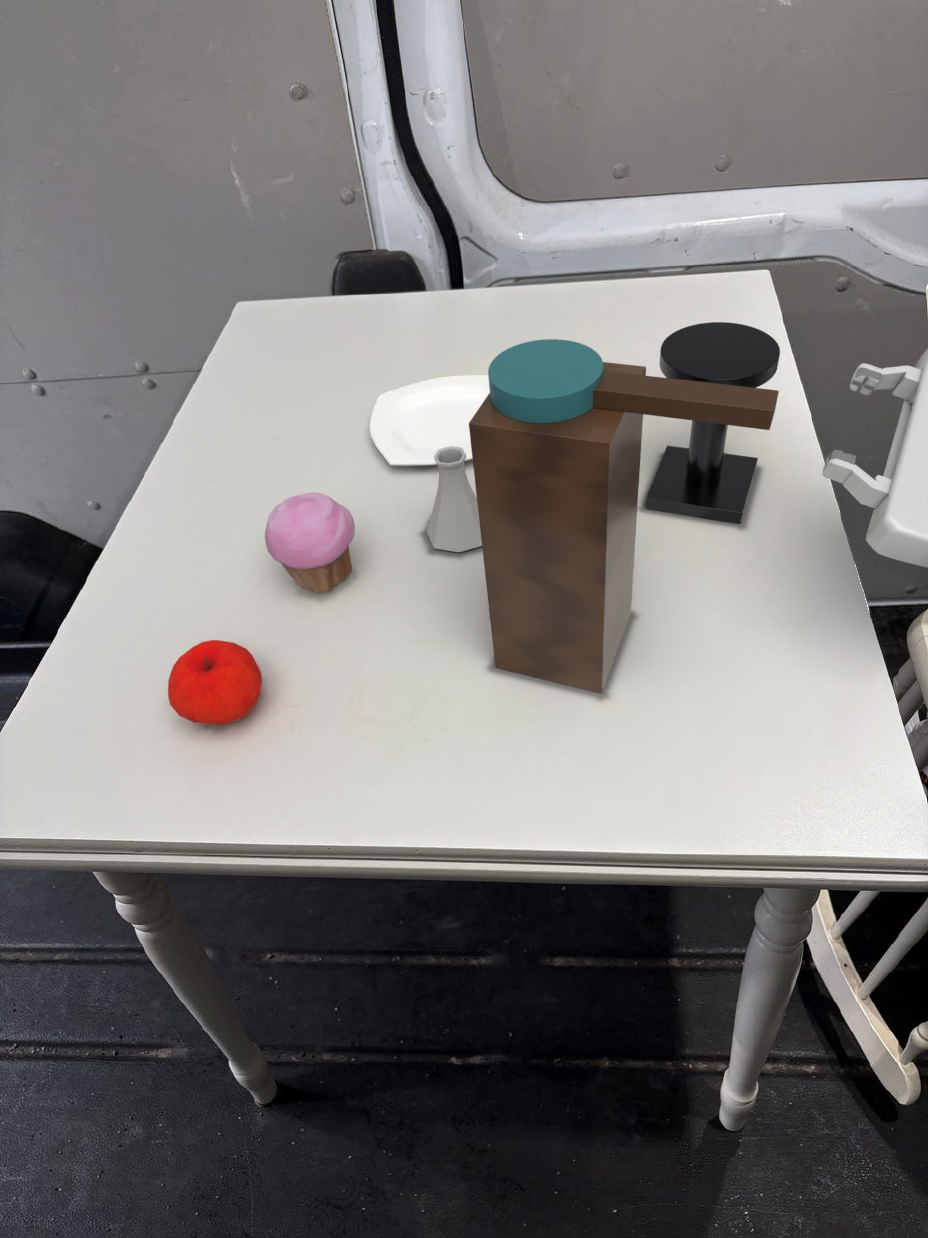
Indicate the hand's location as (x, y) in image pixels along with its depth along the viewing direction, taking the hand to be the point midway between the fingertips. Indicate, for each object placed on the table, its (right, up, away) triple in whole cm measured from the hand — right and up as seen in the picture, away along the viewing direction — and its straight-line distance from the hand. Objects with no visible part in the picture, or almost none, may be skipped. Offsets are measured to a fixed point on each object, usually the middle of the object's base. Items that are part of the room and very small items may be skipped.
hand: (840, 417), depth 66 cm
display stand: (-4, -2, +25) cm, 26 cm away
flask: (-30, -7, +24) cm, 39 cm away
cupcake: (-45, -12, +21) cm, 51 cm away
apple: (-51, -24, +10) cm, 58 cm away
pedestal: (-21, -18, +12) cm, 30 cm away
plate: (-32, +8, +38) cm, 50 cm away
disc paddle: (-19, -1, -9) cm, 21 cm away
